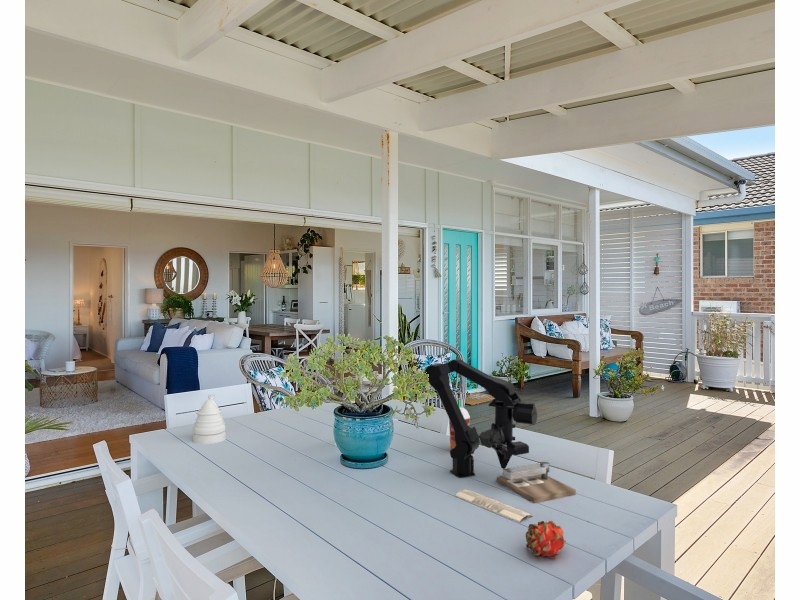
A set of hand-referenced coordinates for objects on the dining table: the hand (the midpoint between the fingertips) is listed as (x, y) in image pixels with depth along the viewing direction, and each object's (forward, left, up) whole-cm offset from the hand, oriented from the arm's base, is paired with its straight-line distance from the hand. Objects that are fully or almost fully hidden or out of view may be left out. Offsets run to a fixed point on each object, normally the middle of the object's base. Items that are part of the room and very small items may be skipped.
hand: (503, 468), depth 170 cm
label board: (+6, -8, -5) cm, 11 cm away
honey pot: (-83, +89, -5) cm, 122 cm away
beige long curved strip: (-15, -14, -6) cm, 21 cm away
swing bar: (+5, -6, -1) cm, 8 cm away
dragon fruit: (-18, -42, -5) cm, 46 cm away
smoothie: (+4, +34, -5) cm, 35 cm away
